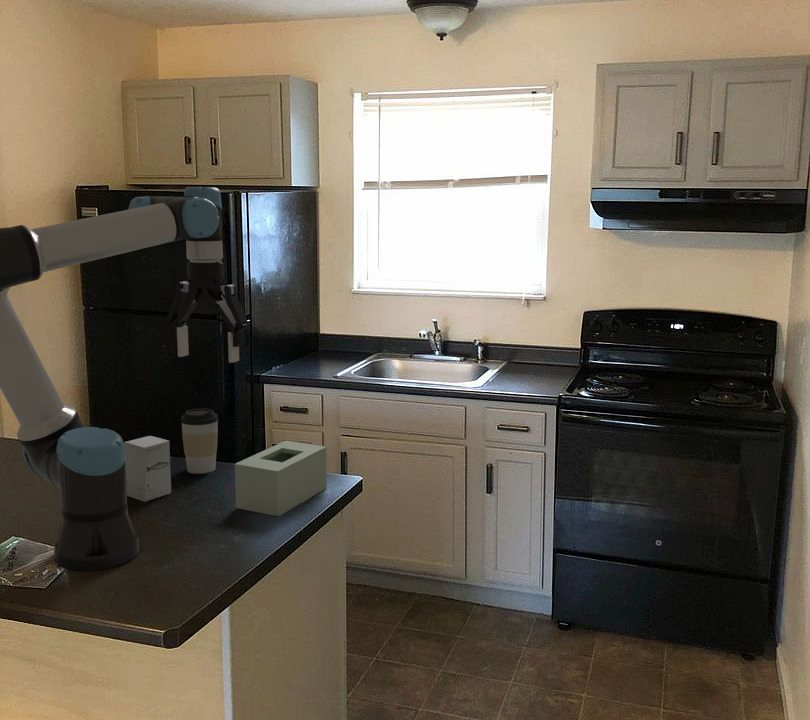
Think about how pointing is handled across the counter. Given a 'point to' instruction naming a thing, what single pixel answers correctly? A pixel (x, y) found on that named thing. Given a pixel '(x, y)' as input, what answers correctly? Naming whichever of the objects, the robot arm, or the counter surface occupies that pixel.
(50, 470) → the robot arm
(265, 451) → the grey box with slot
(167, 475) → the supplement box
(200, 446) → the coffee cup
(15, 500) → the counter surface
